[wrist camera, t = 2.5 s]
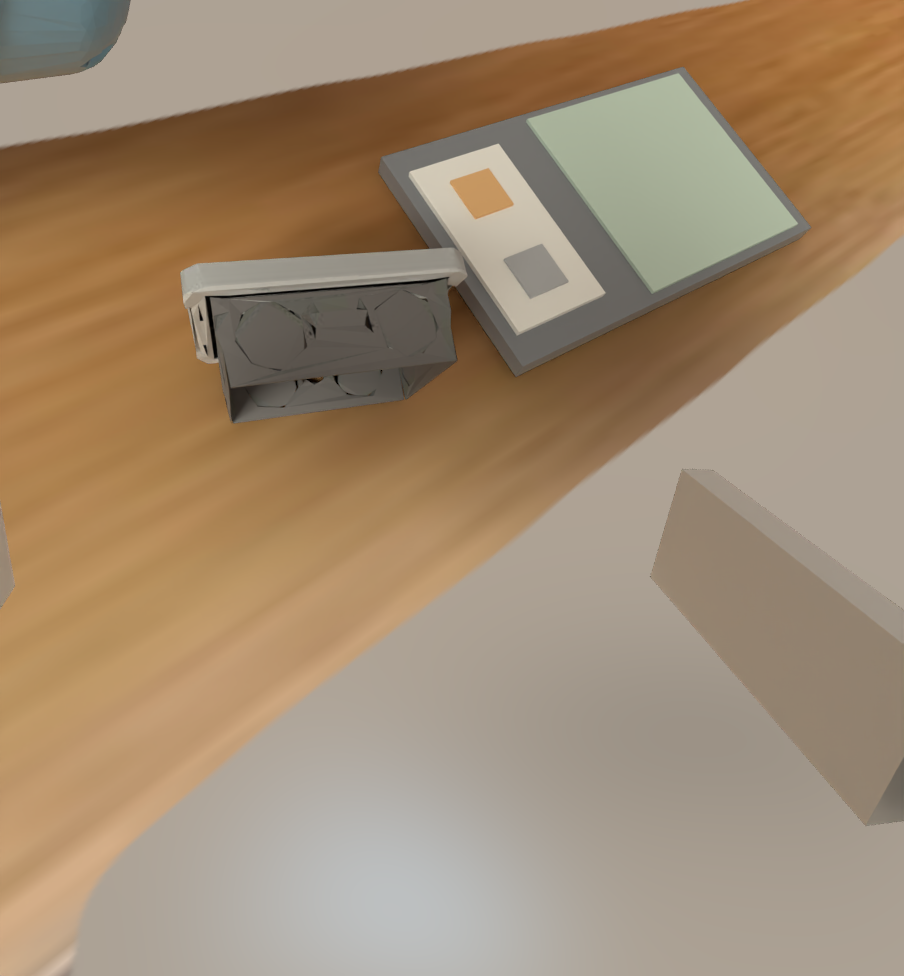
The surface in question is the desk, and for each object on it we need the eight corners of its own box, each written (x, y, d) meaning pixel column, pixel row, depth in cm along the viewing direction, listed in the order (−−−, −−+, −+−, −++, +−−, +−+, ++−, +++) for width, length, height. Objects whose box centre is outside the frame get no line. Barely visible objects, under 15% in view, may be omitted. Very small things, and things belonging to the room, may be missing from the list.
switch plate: (515, 377, 32) (525, 361, 31) (378, 172, 34) (382, 150, 33) (799, 238, 40) (817, 222, 39) (674, 81, 42) (687, 60, 41)
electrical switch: (404, 327, 32) (456, 201, 23) (428, 429, 31) (493, 339, 22) (195, 348, 29) (165, 214, 20) (216, 462, 28) (193, 373, 19)
